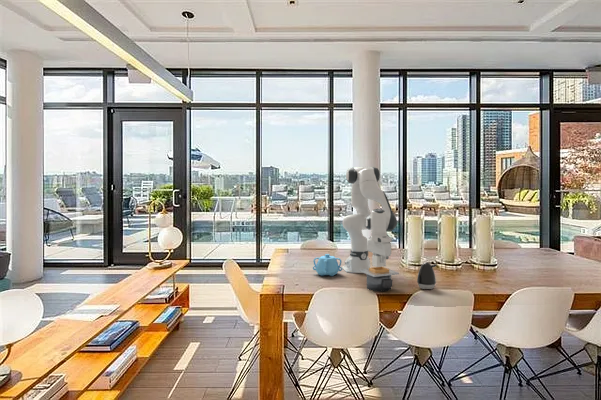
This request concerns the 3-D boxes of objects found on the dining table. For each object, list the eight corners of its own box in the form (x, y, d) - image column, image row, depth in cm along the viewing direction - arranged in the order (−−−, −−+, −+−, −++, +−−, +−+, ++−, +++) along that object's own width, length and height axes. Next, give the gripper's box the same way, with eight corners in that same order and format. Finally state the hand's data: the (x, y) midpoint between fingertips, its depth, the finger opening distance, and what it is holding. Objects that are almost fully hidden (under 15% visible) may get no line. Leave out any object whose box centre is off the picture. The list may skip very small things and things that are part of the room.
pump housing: (372, 265, 246) (372, 254, 246) (385, 264, 249) (385, 253, 249) (376, 267, 241) (376, 255, 241) (390, 265, 245) (390, 254, 244)
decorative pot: (344, 275, 278) (344, 255, 278) (323, 278, 271) (322, 257, 270) (331, 271, 293) (331, 251, 292) (311, 273, 286) (310, 253, 285)
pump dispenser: (435, 291, 236) (435, 264, 236) (416, 290, 240) (416, 263, 240) (436, 287, 246) (437, 261, 245) (418, 285, 250) (418, 260, 249)
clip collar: (368, 270, 247) (368, 267, 247) (381, 269, 250) (381, 266, 250) (375, 273, 240) (375, 270, 240) (389, 271, 243) (389, 269, 243)
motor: (359, 286, 250) (359, 269, 250) (383, 283, 256) (383, 267, 255) (376, 294, 233) (376, 276, 233) (400, 291, 239) (400, 273, 239)
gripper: (364, 235, 253) (364, 259, 253) (383, 240, 234) (383, 265, 234) (374, 235, 255) (374, 258, 256) (393, 239, 236) (393, 264, 236)
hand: (378, 261), depth 245 cm, fingers closed on pump housing, 5 cm apart
